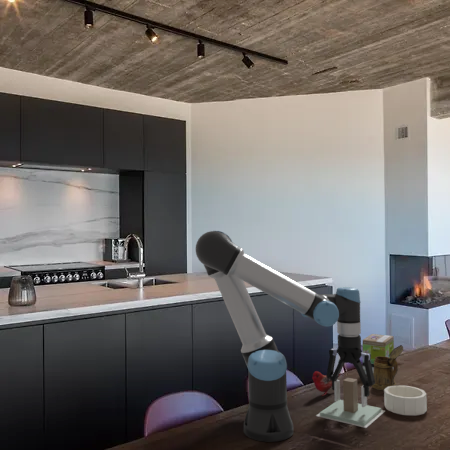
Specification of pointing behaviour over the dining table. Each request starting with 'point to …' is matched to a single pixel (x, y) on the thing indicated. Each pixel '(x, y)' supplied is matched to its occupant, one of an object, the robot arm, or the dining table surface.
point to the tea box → (377, 347)
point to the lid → (350, 406)
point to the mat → (353, 423)
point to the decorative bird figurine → (322, 382)
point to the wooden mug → (386, 369)
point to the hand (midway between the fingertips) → (350, 402)
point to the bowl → (405, 400)
